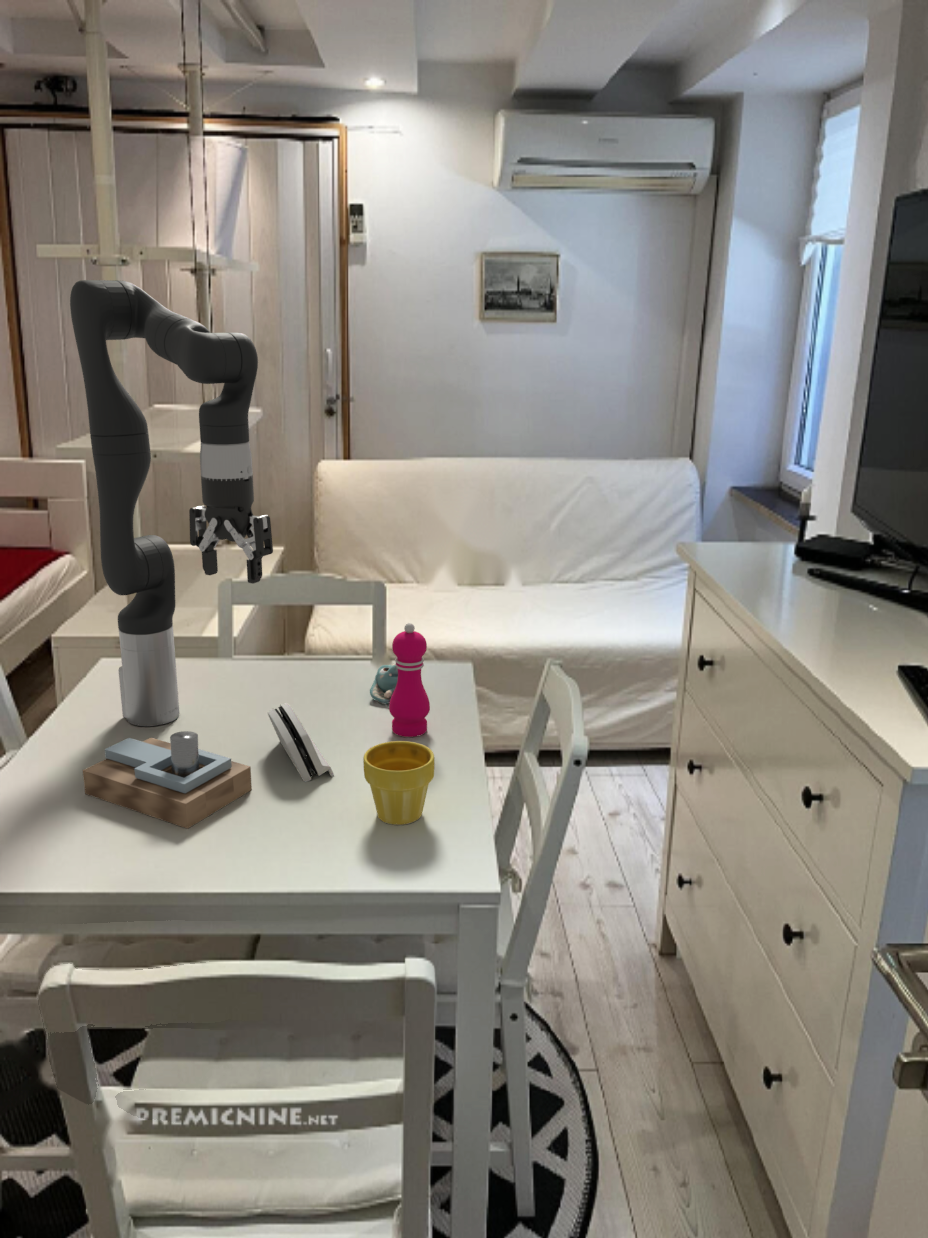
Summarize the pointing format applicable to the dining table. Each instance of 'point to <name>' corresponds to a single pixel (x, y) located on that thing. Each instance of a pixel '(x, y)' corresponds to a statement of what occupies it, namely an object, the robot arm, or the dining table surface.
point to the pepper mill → (409, 685)
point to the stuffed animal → (384, 683)
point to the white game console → (298, 743)
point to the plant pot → (399, 779)
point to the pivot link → (165, 764)
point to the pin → (184, 753)
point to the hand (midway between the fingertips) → (232, 578)
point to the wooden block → (165, 790)
